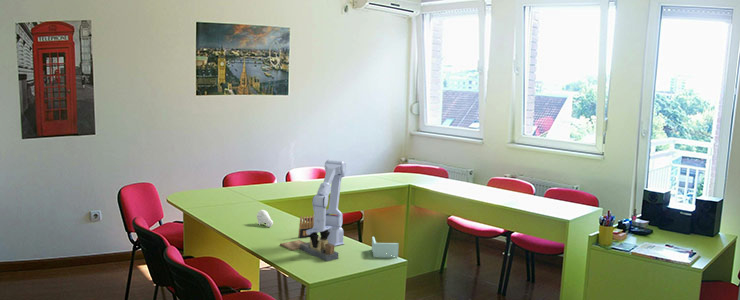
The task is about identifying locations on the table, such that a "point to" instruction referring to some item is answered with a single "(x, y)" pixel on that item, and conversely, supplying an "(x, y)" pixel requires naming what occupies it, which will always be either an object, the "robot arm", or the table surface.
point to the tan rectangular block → (319, 243)
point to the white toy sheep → (264, 218)
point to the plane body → (325, 254)
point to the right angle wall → (384, 249)
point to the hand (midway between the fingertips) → (318, 246)
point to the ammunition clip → (305, 226)
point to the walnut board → (292, 245)
